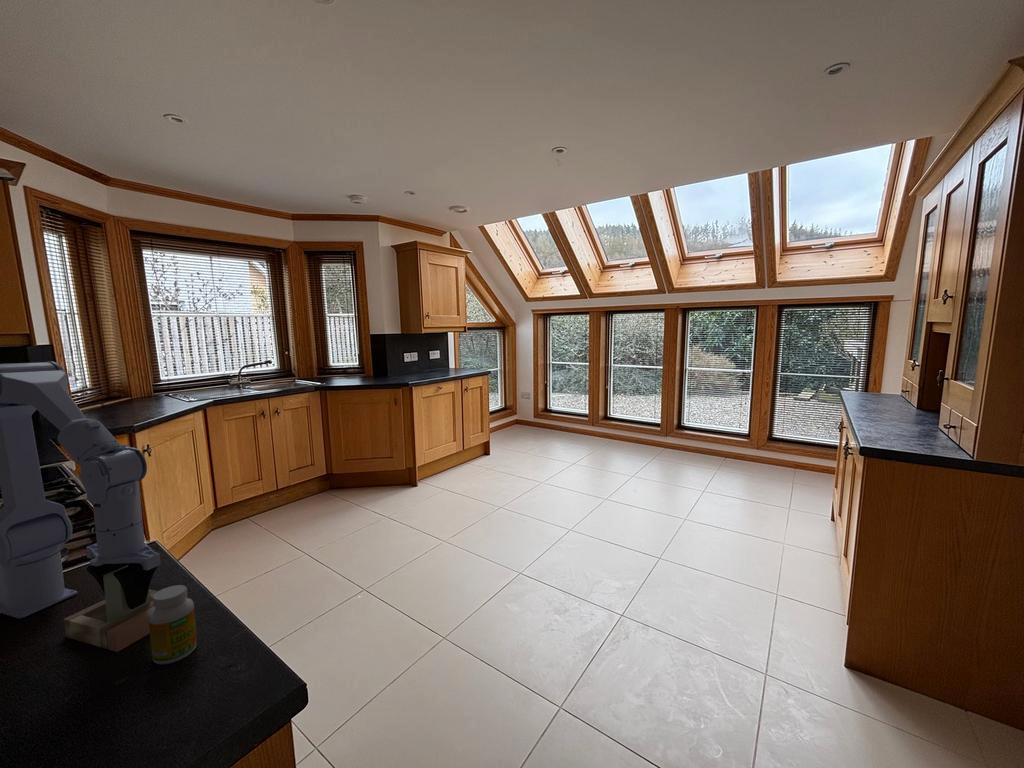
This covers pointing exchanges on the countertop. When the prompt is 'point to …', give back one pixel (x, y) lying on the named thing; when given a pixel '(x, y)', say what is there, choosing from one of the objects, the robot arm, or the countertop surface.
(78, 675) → the countertop surface
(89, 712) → the countertop surface
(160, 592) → the supplement bottle
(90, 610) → the collar block
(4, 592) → the robot arm
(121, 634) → the stop wall
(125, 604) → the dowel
